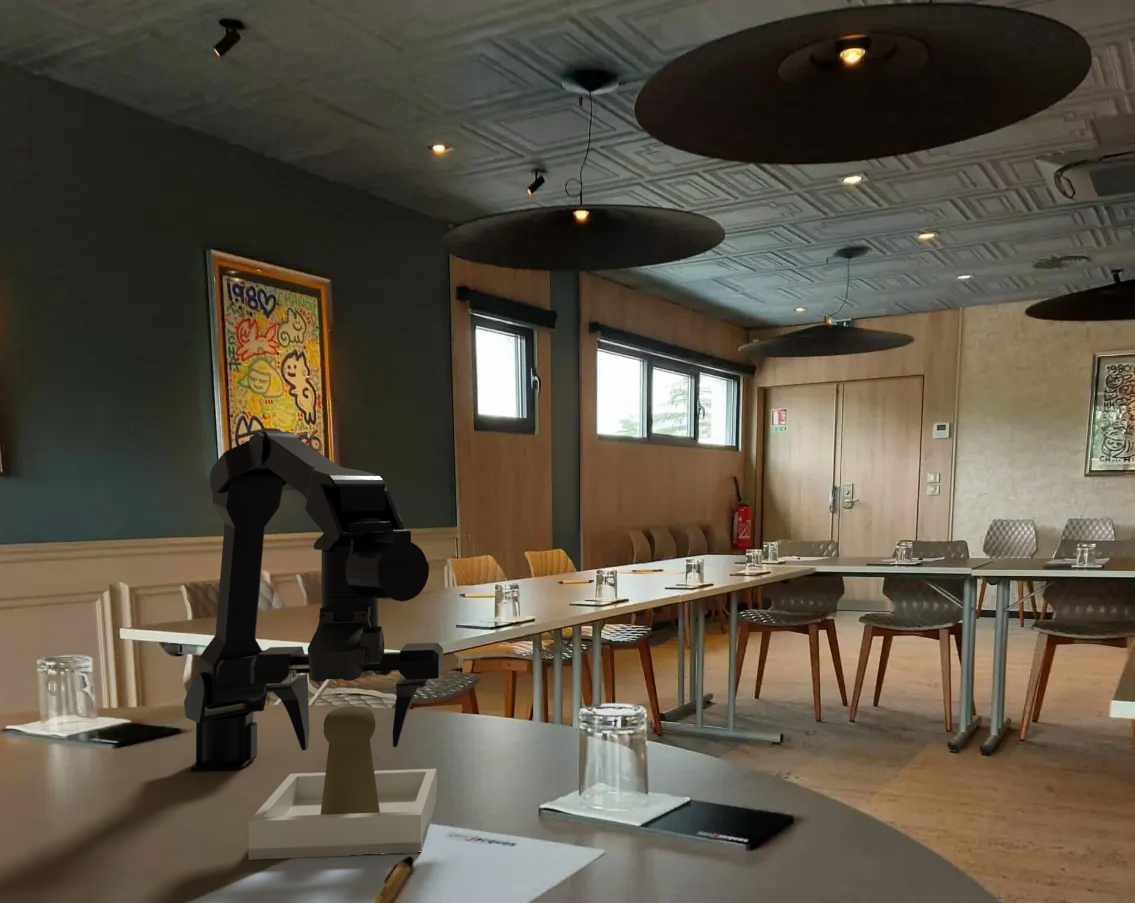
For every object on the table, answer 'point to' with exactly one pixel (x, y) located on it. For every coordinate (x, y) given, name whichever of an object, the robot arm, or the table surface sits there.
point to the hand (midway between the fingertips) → (350, 747)
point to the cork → (349, 762)
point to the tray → (344, 818)
